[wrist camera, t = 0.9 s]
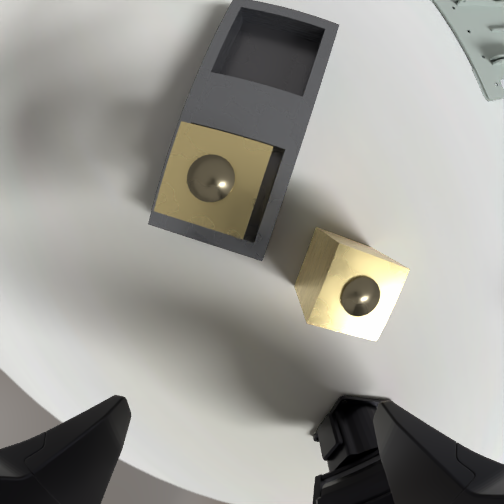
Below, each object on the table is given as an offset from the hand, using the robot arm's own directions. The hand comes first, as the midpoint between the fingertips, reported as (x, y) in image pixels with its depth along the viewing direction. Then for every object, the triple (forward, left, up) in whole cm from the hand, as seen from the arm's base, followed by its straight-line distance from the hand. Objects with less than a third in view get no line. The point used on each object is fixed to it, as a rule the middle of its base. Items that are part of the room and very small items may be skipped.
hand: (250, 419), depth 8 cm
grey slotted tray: (+4, -12, -12) cm, 17 cm away
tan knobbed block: (-5, -4, -12) cm, 14 cm away
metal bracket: (-15, -33, -13) cm, 39 cm away
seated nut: (+4, -7, -12) cm, 15 cm away
